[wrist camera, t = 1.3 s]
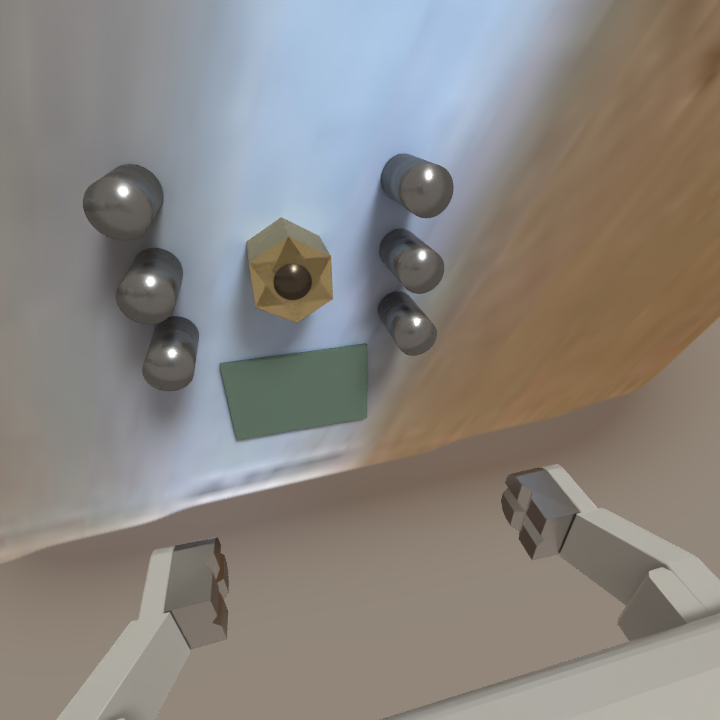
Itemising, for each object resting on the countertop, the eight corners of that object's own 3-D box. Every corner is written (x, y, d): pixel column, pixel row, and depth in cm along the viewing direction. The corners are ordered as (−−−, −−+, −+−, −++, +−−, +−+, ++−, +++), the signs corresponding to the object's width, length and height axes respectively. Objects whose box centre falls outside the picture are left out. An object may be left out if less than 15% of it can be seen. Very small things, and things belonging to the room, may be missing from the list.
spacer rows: (160, 354, 31) (150, 394, 27) (100, 165, 24) (73, 180, 20) (411, 322, 35) (434, 352, 31) (423, 152, 28) (456, 163, 24)
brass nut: (255, 299, 31) (258, 328, 27) (243, 219, 27) (244, 239, 24) (322, 292, 32) (333, 318, 28) (317, 214, 28) (330, 233, 25)
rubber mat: (236, 437, 37) (236, 440, 37) (220, 363, 33) (219, 366, 32) (365, 415, 39) (366, 417, 39) (366, 343, 35) (367, 346, 35)
